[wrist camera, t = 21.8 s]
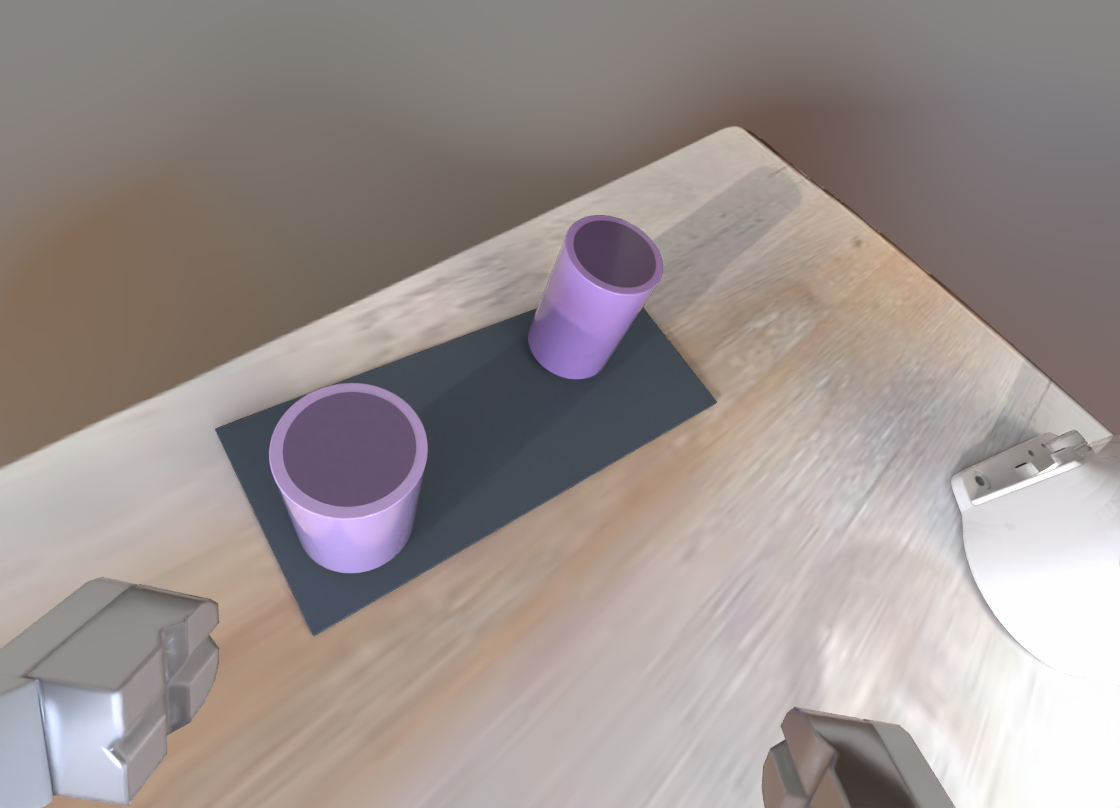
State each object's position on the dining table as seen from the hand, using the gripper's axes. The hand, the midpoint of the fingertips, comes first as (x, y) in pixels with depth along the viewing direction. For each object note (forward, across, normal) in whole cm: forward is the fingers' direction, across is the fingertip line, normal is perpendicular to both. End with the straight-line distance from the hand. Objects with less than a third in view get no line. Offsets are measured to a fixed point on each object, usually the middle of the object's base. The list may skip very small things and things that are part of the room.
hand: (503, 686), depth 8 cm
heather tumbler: (+35, -1, +4) cm, 35 cm away
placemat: (+29, +2, +8) cm, 30 cm away
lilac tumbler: (+21, +9, +13) cm, 26 cm away
